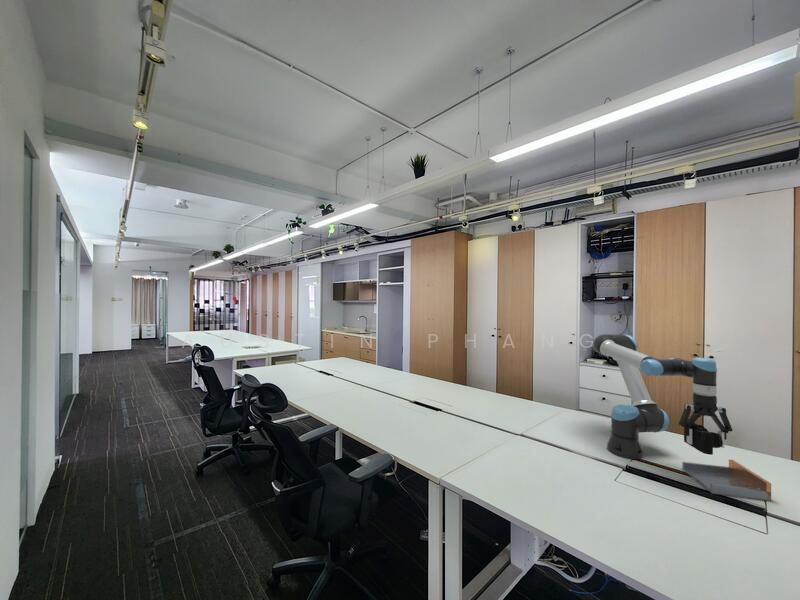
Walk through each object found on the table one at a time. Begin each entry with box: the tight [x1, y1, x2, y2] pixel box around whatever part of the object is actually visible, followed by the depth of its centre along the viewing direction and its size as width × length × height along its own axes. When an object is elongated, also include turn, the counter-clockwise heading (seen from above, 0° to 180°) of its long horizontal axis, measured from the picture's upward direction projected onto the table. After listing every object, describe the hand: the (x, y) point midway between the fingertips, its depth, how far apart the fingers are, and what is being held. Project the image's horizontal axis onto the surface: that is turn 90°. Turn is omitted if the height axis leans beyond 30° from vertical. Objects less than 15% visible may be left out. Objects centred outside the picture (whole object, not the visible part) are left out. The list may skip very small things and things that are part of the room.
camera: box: [683, 423, 723, 455], centre depth 138 cm, size 14×11×10 cm
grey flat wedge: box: [681, 458, 772, 502], centre depth 138 cm, size 20×19×7 cm
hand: (705, 444), depth 139 cm, fingers closed on camera, 11 cm apart
